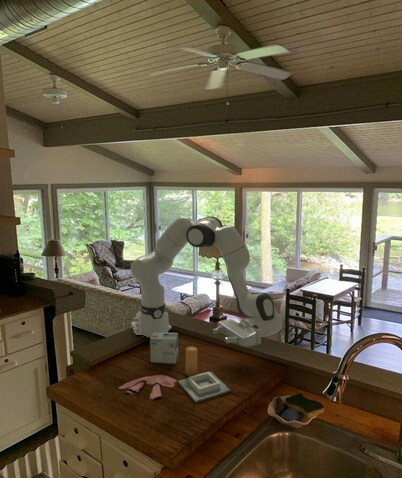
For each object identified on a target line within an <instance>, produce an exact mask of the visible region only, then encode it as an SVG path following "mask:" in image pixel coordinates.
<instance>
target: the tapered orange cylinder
mask: <svg viewBox="0 0 402 478" xmlns="http://www.w3.org/2000/svg"><path fill="white" fill-rule="evenodd" d="M185 375H186V376H188V377H191V376H195V375H198V348H197V347H195V346H188V347H186V348H185Z"/></svg>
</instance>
